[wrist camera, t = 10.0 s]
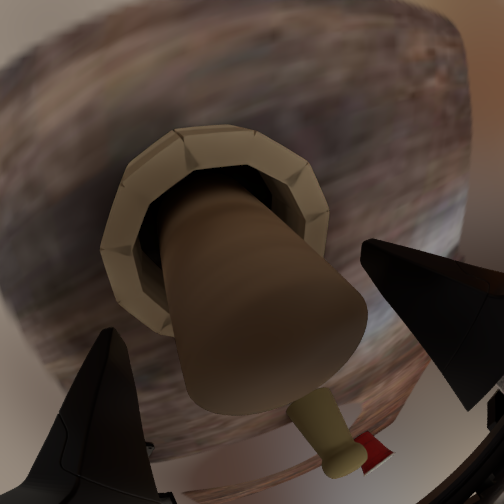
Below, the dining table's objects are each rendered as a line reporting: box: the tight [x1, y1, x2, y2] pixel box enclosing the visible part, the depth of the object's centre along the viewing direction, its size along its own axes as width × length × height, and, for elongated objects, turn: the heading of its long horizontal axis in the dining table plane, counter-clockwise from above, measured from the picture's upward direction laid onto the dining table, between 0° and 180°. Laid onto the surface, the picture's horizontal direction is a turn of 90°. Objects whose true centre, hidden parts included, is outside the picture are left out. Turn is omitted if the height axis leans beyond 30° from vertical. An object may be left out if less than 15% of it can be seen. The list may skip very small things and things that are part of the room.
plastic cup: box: [354, 431, 395, 476], centre depth 55 cm, size 11×11×12 cm
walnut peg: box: [157, 172, 368, 416], centre depth 10 cm, size 5×5×9 cm
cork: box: [286, 388, 368, 479], centre depth 25 cm, size 6×6×11 cm
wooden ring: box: [100, 124, 330, 337], centre depth 12 cm, size 9×9×4 cm
